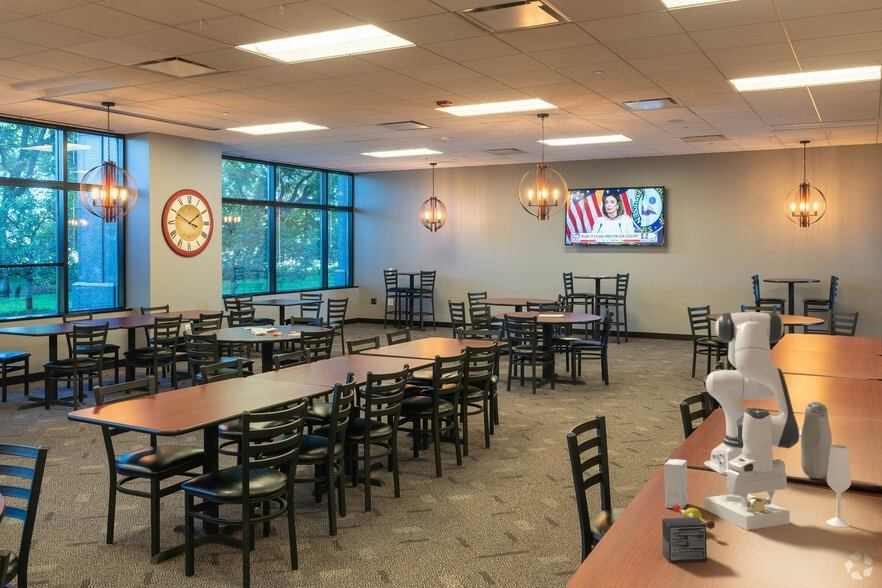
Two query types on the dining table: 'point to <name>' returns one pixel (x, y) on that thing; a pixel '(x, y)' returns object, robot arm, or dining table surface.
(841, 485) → the champagne flute
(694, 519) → the small box
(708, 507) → the jig
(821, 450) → the grey bottle
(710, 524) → the toy figure
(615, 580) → the dining table surface
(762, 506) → the bushing
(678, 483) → the skincare box
